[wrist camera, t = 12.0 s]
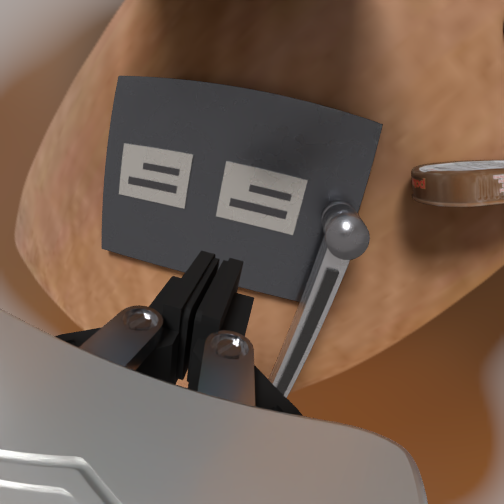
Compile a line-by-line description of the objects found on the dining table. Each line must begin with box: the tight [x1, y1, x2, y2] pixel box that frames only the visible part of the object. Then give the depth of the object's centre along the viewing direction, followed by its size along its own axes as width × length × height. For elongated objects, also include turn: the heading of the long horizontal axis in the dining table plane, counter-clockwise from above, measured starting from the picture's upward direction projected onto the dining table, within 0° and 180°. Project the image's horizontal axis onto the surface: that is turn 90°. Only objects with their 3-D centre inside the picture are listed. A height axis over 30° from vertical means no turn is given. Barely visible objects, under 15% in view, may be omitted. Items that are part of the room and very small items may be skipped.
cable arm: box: [268, 204, 370, 398], centre depth 28 cm, size 24×3×4 cm, turn 166°
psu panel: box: [102, 76, 383, 302], centre depth 27 cm, size 24×18×2 cm
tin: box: [411, 160, 504, 207], centre depth 20 cm, size 15×3×8 cm, turn 101°
